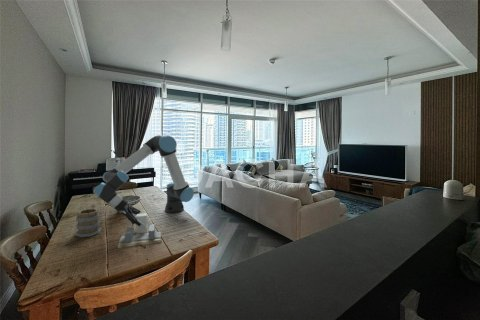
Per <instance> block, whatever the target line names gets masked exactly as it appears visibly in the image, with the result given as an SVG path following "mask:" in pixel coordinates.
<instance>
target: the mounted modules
mask: <svg viewBox="0 0 480 320" xmlns="http://www.w3.org/2000/svg"><path fill="white" fill-rule="evenodd" d="M155 232H156V224H155V223H152V224H149V226H148V233H149V239H154V238H155ZM133 235H135V234H134V226H127V229H126V230H125V233H124V236H125V243H126V242H131V241H132V238H133Z"/></svg>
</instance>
